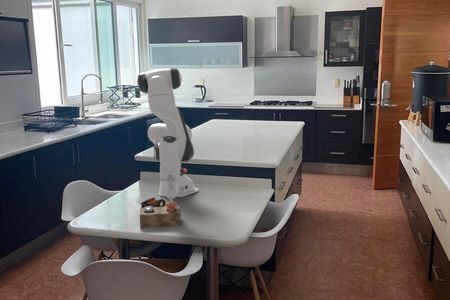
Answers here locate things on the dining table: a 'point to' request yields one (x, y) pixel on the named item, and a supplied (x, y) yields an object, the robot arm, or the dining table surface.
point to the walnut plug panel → (160, 217)
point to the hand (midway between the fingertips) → (170, 202)
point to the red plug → (171, 206)
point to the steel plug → (149, 209)
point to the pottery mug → (153, 203)
